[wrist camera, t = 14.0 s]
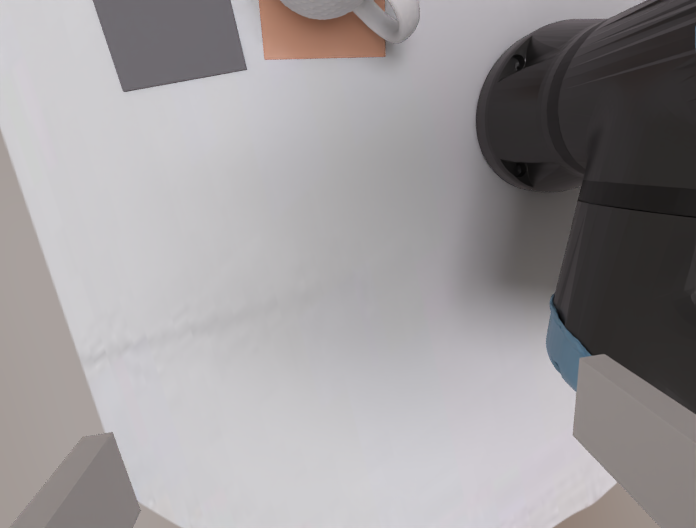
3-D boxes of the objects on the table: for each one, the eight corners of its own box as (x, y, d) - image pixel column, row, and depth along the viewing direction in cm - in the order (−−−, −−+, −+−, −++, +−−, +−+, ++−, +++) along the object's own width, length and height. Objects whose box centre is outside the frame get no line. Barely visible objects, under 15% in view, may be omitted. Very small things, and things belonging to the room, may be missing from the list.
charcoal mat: (209, -89, 30) (207, -95, 29) (247, 71, 33) (246, 68, 33) (74, -67, 29) (68, -73, 29) (127, 92, 33) (123, 91, 32)
